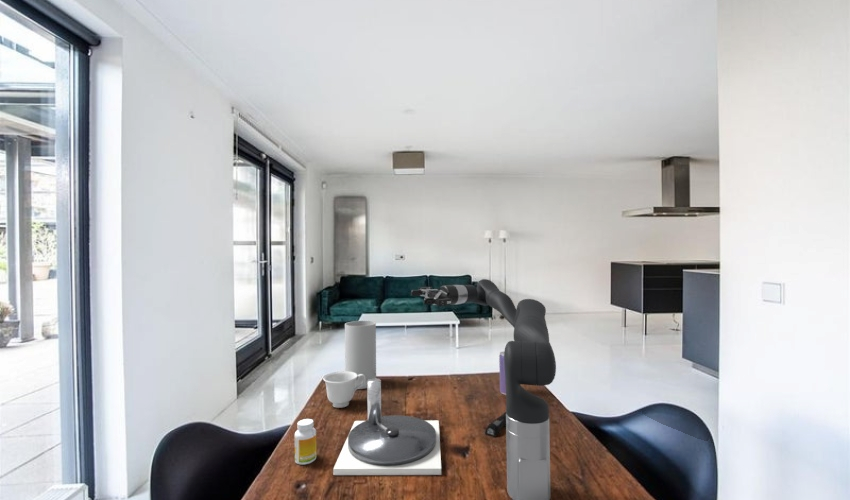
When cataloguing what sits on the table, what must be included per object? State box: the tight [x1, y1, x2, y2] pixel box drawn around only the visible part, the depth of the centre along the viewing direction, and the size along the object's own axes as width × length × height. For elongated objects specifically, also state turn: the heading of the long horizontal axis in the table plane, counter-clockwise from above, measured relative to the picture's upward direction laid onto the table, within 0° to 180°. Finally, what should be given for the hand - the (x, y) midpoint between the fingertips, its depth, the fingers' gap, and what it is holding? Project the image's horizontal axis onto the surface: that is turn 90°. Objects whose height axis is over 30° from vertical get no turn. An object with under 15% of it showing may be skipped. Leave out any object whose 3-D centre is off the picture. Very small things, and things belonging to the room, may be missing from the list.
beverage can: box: [498, 350, 506, 396], centre depth 142 cm, size 6×6×15 cm
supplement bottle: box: [294, 418, 317, 466], centre depth 97 cm, size 5×5×10 cm
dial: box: [347, 377, 436, 466], centre depth 103 cm, size 24×24×14 cm
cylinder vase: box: [344, 320, 377, 390], centre depth 153 cm, size 12×12×25 cm
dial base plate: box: [332, 419, 442, 476], centre depth 103 cm, size 26×26×2 cm
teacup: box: [322, 370, 366, 409], centre depth 133 cm, size 12×15×10 cm
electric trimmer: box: [484, 411, 506, 438], centre depth 115 cm, size 4×16×3 cm, turn 145°
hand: (417, 297), depth 134 cm, fingers open, 8 cm apart
